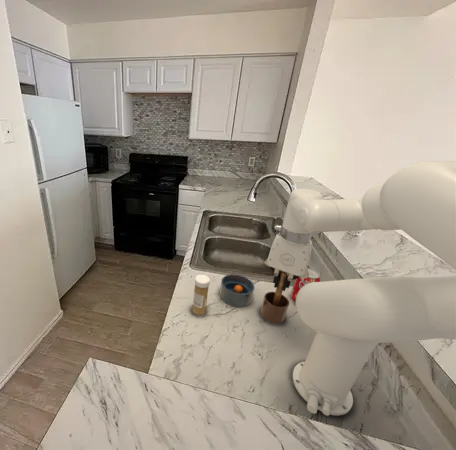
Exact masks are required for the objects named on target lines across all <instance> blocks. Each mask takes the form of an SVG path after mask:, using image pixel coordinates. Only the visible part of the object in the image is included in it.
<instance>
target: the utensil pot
mask: <svg viewBox="0 0 456 450" xmlns="http://www.w3.org/2000/svg"><path fill="white" fill-rule="evenodd" d="M275 292H276V291H267V292H266V293H265V294H264V295H263V300H262V303H261V308H260V314H261V316H262V317H263V319H264V320H266V321H268V322H269V323H272V324H282V323H283V322H284V321H285V319H286V315H287V313H288V310H289V307H290V300H289V299H288V298H287V296H286V295H284V294H282V295H281V298H280V302H279V305H278V306H274V305H272V303H273V299H274V296H275Z"/></svg>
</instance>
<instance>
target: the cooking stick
mask: <svg viewBox="0 0 456 450" xmlns="http://www.w3.org/2000/svg"><path fill="white" fill-rule="evenodd" d="M280 272H281V274H280V278H279V282H278V285H277V288H275V291H274V292H275V296H274V299H273V303H272V305H274V306H278V305H279V302H280V298H281V295H283V292H284V291H283V290H282V289H283V285H284V282H285V279H286V278H287V276H288V273H287V272H284V271H280Z"/></svg>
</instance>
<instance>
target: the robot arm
mask: <svg viewBox="0 0 456 450" xmlns="http://www.w3.org/2000/svg"><path fill="white" fill-rule="evenodd" d="M275 230H277V231H278V233H277V234H276V235H275V237H274V239H273V242H272V244H271V247H270V250H269V254H268V257H266V259H265V260H264V262H263V263H264V265H266V266H267V267H268V268H270V270H271V271H272V274H273V276H274V278H273V280H272V283H273V284H274V285H273V288H275V289H276V288H277V285H278V282H279V278H280V274H281V272H283V271H284V272H286V273H287V278H286V279H285V282H284V285H283V289H282V290H283V291H282V292H286V289H289V288H290V286H291V283H292V282H293V280H294V281H295V279H297V278H308V276H309V273H308V268H309V267H308V266H309V263H310V259H311V256H312V249H313V241H312V240H311V239H312V236H313V233H330V232H355V231H356V232H357V231H370V230H380V231H385V232H386V231H399V230H400V231H402V232H404V233H405V234H406V235H408V236H409V237H410V238H412V239H413V240H414V241H416V242H417V243H419V244H420V245H421V246H422V247H424V248H425V249H427V250H428V251H429V252H431V253H432V254H434V255H435V256H437V258H438V259H440V260H441V261H442V262H444V263H445V264H447V265H448V266H449V267H450V268H452V269H454V270H455V271H456V160H429V161H421V162H415V163H412V164H409V165H406V166H404V167H402V168H400V169H398V170H396V171H395V172H394V173H392V174H391V175H390V176H389V177H388V178H387V179H386V180H385V181H383V182H380V183H377V184H374V185H372V186H371V187H369V188H368V189H367V190H366V191H365V193H364V195H363V196H362V197H356V198H343V199H341V198H339V199H324V196H323V194H322V192H320V191H317V190H315V189H311V188H296V189H293V190H292V191H291V192H290V195H289V197H288V201H287V205H286V209H285V213H284V217H283V221H282V224H279V225H278V224H276V226H275ZM295 309H296V312H297V314H298V317H299V318H300V319H301V320H302V322H303V323H304V324H305V325H306V326H307V327H308V328H310V329H311V330H313V331H314V332H316V334H315V337H314V339H313V341H312V344H311V346H310V347H309V348H310V349H309V351H308V353H307V356H306V358H305V361H300V362H298V363H297V364H295V366H294V368H293V370H292V380H293V381H292V382H293V385H294V387H295V389H296V391H297V392H298V394H299V396H301V397H302V399H303V400H304V401H305V402H307V403H306V410H307V411H308V412H309V413H311V414H313V415H314V414H317V413H318V411H319V412H321V413H322V414H323V415H324V416H326V417H329V416H330V415H331V416H337V417H338V416H344V415H346V414H348V413H349V412H350V411H351V409H352V407H353V404H354V396H353V393H352V391H351V390H352V388H353V387H354V384H355V383H356V381H357V380H358V377H359V375H360V374H361V372H362V370H363V369H364V367H365V365H366V363H367V361H368V360H369V358H370V357H371V355H372V353H373V352H374V350H375V349H376V348H377V345H378V344H392V343H404V342H405V343H406V342H417V341H426V340H434V339H437V340H438V339H439V340H440V339H442V340H443V339H444V340H456V275H451V276H432V277H431V276H430V277H426V276H425V277H424V276H423V277H422V276H421V277H420V276H381V277H380V276H379V277H364V278H352V279H351V278H350V279H338V280H328V281H320V282H312V283H308V284H306V285H305V286H303V287H302V288H301V289H300V290H299V292H298V294H297V297H296V302H295Z"/></svg>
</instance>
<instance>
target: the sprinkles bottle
mask: <svg viewBox="0 0 456 450" xmlns="http://www.w3.org/2000/svg"><path fill="white" fill-rule="evenodd" d="M210 284H211V279H210V277H209V276H208V275H206V274H197V275H196V276H195V277H194V289H193V299H192V309H191V310H192V313H193V314H194V315H198V316H200V315H205V314H206V313H207V302H208V294H209V293H208V292H209V286H210Z"/></svg>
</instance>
